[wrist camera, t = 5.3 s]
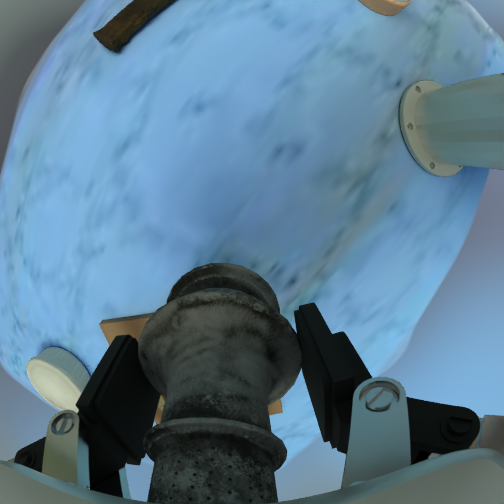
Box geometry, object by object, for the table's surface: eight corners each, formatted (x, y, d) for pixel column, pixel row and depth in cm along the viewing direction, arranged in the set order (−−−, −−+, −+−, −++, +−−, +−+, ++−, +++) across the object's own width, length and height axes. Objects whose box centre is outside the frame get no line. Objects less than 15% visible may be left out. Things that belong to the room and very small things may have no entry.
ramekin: (46, 377, 33) (33, 396, 28) (36, 329, 30) (19, 347, 25) (99, 402, 34) (89, 424, 29) (95, 357, 31) (81, 380, 26)
